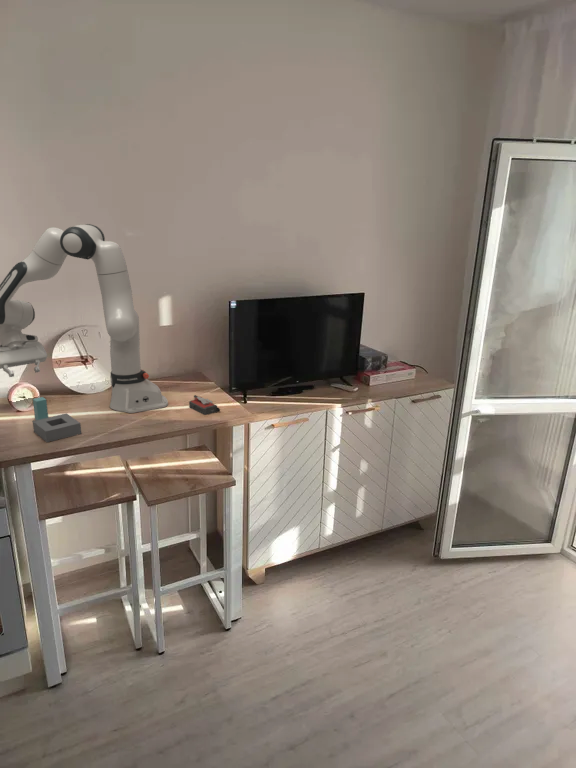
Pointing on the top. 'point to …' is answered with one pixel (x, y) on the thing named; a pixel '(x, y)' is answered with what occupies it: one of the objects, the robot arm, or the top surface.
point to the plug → (40, 408)
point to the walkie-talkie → (203, 405)
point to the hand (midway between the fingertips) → (25, 373)
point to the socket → (56, 427)
